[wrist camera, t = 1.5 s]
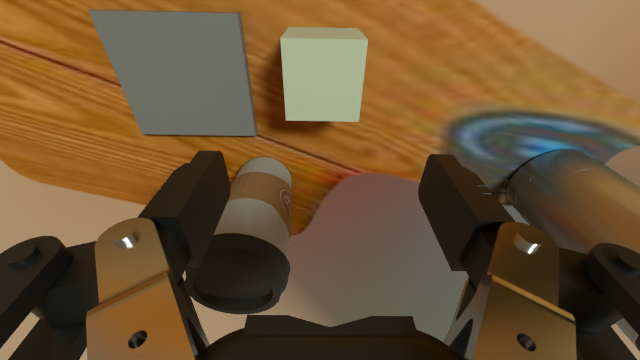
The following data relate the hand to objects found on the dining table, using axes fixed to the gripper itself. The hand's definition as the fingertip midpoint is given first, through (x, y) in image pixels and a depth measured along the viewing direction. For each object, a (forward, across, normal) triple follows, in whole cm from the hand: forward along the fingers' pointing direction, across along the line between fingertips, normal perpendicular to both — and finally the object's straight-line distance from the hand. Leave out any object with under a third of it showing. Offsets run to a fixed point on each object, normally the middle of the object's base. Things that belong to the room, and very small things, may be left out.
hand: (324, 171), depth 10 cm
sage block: (+18, 0, 0) cm, 18 cm away
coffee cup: (+18, +7, +13) cm, 23 cm away
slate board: (+17, +13, +2) cm, 22 cm away
